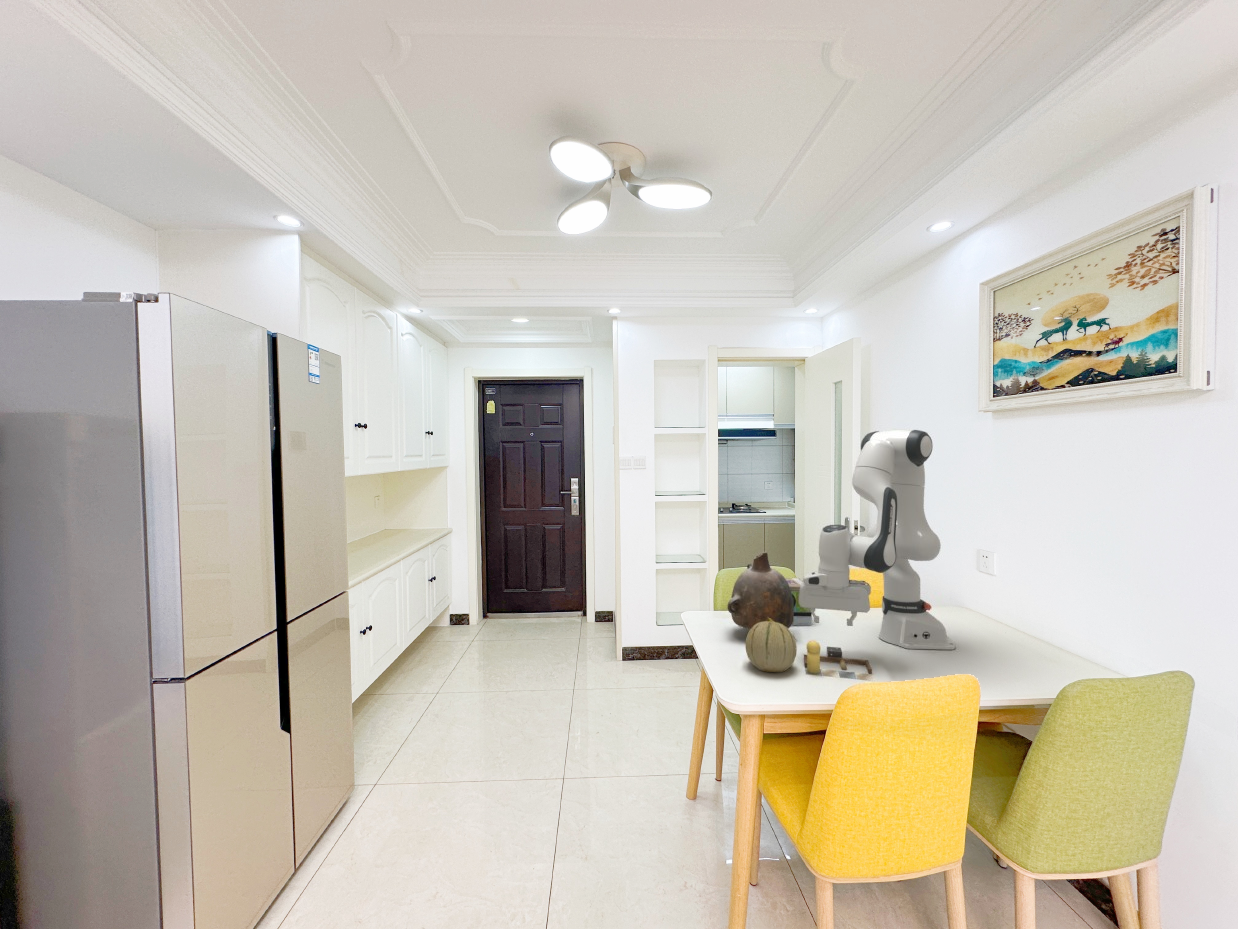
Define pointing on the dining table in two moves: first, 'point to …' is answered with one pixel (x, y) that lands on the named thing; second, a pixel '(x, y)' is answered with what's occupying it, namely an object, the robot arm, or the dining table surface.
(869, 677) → the board
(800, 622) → the tea box
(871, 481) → the robot arm
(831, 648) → the die
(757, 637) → the cantaloupe
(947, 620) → the dining table surface
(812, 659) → the pawn
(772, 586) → the jug
